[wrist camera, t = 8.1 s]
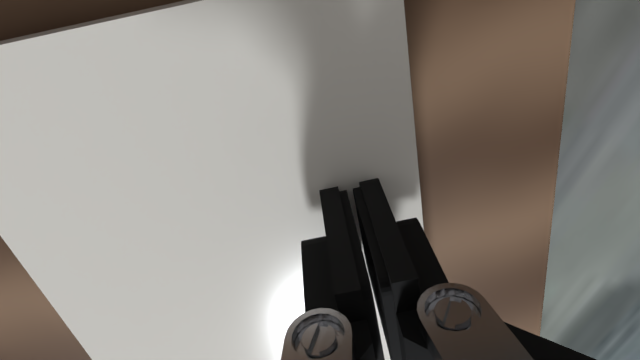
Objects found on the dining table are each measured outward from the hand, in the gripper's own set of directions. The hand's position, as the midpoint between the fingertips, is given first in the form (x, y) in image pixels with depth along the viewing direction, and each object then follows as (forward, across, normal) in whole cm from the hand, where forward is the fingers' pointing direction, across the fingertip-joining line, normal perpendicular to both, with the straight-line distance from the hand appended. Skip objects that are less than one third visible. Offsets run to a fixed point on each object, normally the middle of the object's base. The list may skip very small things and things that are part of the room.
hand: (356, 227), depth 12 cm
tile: (+2, +10, 0) cm, 10 cm away
